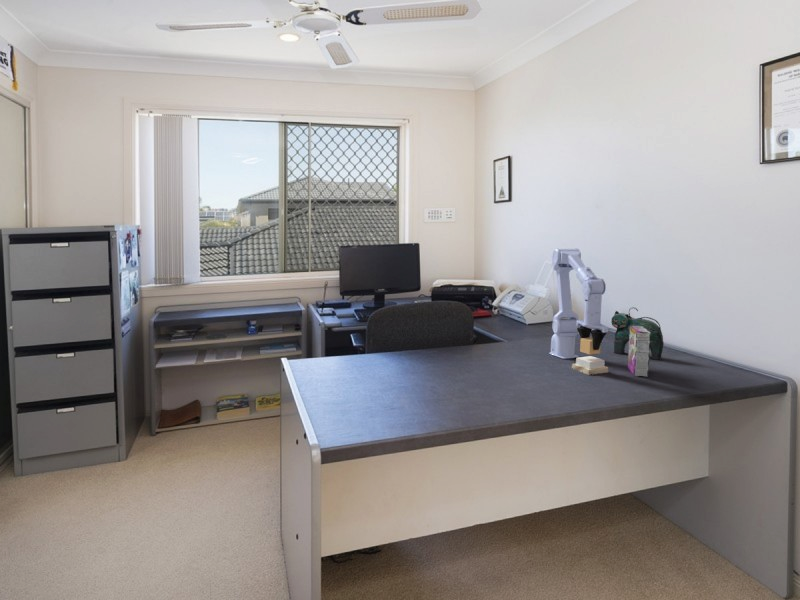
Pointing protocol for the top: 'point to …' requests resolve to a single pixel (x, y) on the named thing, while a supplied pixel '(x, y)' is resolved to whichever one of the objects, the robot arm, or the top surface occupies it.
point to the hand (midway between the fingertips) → (590, 348)
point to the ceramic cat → (623, 329)
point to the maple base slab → (590, 371)
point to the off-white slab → (590, 362)
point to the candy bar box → (639, 351)
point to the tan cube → (588, 346)
